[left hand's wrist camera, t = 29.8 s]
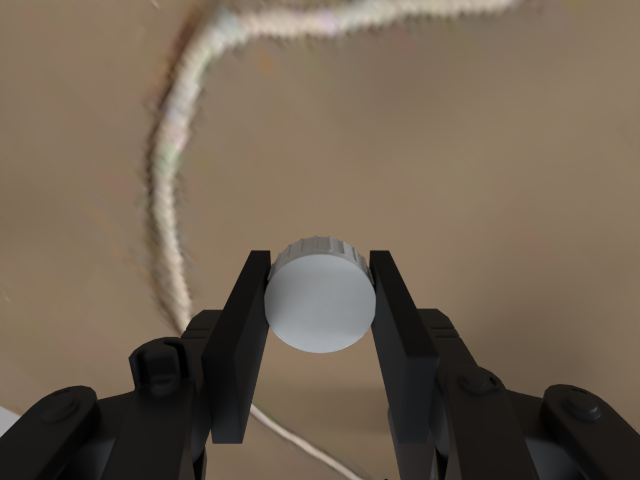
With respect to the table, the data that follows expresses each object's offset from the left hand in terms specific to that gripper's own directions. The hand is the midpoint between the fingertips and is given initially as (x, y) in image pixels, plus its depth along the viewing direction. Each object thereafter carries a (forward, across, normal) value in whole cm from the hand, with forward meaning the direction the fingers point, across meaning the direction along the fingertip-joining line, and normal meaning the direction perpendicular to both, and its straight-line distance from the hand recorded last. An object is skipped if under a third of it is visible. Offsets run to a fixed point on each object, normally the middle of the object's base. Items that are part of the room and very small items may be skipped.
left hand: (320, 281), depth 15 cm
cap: (-2, 0, 0) cm, 2 cm away
